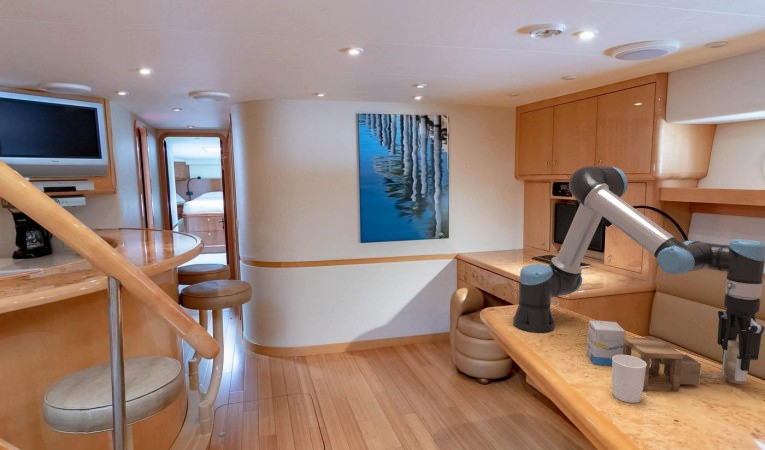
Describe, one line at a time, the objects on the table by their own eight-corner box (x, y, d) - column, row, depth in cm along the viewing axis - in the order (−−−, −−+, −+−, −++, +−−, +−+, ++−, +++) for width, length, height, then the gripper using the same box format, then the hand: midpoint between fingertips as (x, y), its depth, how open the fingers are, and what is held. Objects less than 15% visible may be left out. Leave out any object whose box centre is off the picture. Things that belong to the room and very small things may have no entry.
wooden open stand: (621, 372, 127) (623, 337, 126) (655, 373, 127) (658, 338, 125) (641, 391, 116) (644, 353, 115) (679, 392, 116) (682, 353, 114)
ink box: (623, 367, 130) (625, 330, 129) (593, 364, 132) (595, 328, 131) (614, 355, 139) (616, 321, 137) (586, 353, 140) (588, 319, 139)
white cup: (604, 388, 117) (606, 354, 116) (633, 389, 117) (635, 354, 116) (619, 404, 110) (621, 367, 108) (650, 404, 109) (653, 367, 108)
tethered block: (663, 373, 124) (666, 337, 122) (732, 375, 123) (736, 338, 122) (676, 383, 118) (680, 346, 117) (749, 385, 117) (753, 347, 116)
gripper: (706, 287, 126) (699, 362, 129) (753, 305, 109) (744, 391, 112) (732, 287, 125) (724, 363, 128) (784, 305, 108) (773, 392, 111)
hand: (733, 376), depth 120 cm, fingers closed on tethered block, 4 cm apart
